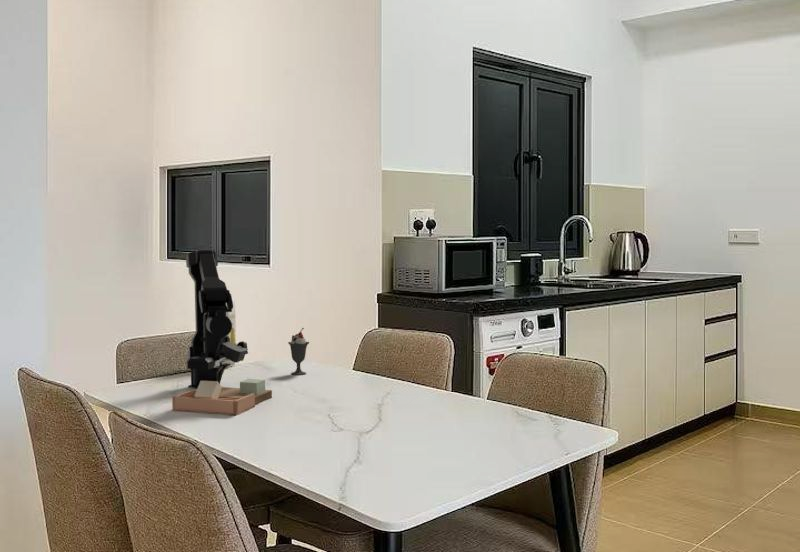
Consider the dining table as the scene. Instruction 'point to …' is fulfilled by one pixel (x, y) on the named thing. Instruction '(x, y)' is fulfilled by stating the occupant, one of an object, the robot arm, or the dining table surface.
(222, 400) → the tray
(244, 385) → the sage green square block
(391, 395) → the dining table surface
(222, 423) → the dining table surface
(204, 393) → the ivory rectangular block
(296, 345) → the sundae
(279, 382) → the dining table surface
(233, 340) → the juice carton
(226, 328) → the robot arm
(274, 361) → the dining table surface
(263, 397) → the board
